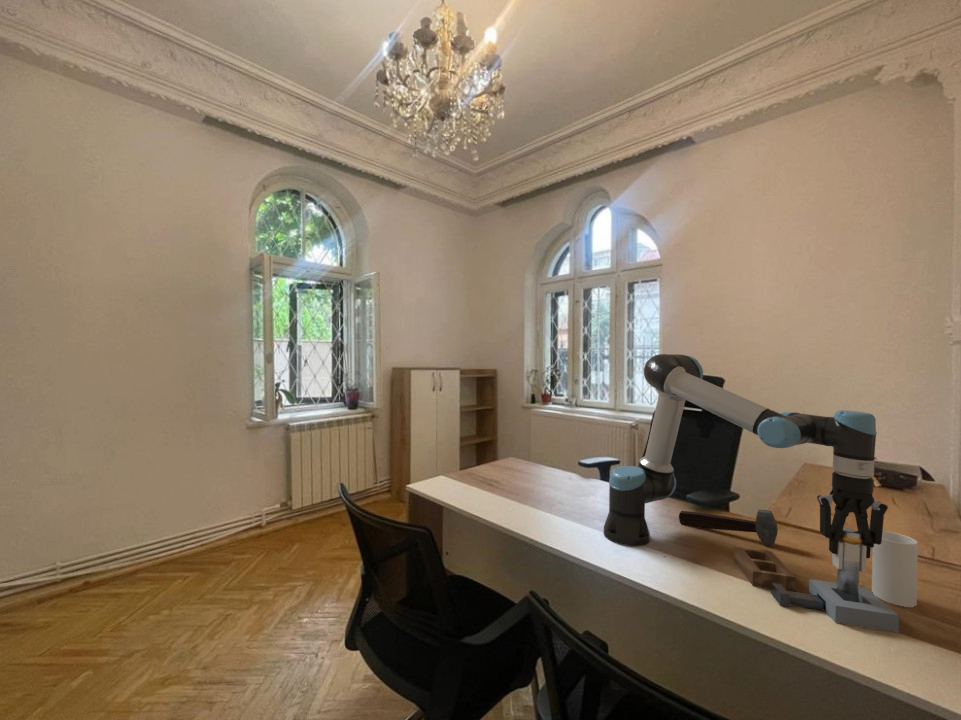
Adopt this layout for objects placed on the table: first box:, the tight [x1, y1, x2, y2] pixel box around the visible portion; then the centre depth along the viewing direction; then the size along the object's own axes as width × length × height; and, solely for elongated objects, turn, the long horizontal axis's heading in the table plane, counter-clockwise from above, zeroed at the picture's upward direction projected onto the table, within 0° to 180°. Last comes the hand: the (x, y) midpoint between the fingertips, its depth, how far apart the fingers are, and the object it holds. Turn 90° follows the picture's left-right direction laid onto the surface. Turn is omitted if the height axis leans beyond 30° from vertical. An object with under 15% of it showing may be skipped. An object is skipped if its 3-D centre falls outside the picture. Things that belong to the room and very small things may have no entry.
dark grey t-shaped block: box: [771, 583, 826, 611], centre depth 101 cm, size 10×5×3 cm, turn 74°
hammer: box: [678, 509, 779, 548], centre depth 143 cm, size 5×11×30 cm
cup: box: [871, 530, 919, 608], centre depth 105 cm, size 8×8×16 cm
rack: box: [733, 546, 797, 592], centre depth 115 cm, size 10×15×4 cm, turn 164°
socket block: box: [808, 578, 900, 634], centre depth 98 cm, size 12×12×4 cm
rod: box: [836, 526, 862, 596], centre depth 99 cm, size 4×4×15 cm
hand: (848, 567), depth 99 cm, fingers closed on rod, 4 cm apart
